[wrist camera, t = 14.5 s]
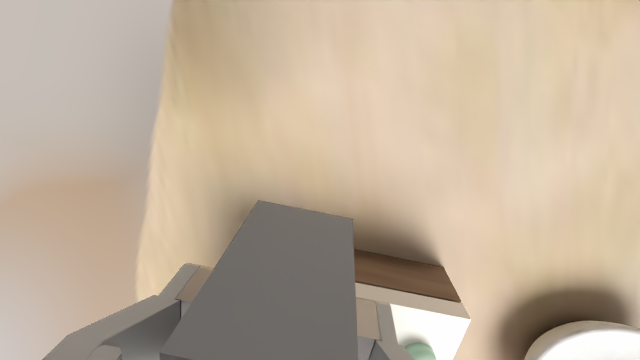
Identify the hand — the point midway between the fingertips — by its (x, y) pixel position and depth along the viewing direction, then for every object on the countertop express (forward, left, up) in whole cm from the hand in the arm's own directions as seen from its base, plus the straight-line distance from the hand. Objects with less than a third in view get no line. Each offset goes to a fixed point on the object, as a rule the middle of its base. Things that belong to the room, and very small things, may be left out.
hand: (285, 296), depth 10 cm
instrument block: (0, 0, -3) cm, 3 cm away
